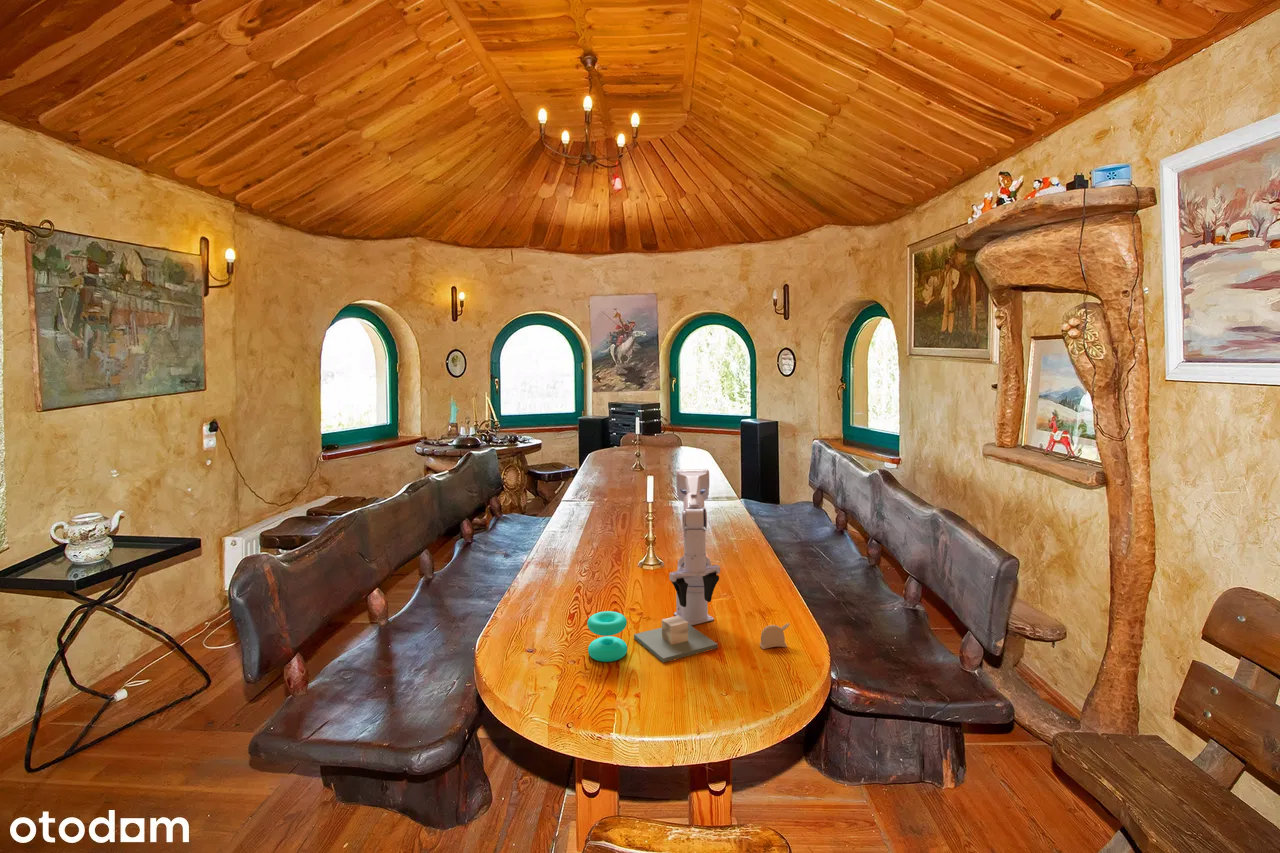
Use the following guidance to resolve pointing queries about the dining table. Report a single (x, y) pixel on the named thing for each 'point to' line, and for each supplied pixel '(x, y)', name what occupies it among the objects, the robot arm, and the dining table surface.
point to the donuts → (607, 636)
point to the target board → (670, 652)
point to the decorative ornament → (773, 636)
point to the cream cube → (674, 630)
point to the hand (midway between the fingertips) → (695, 603)
